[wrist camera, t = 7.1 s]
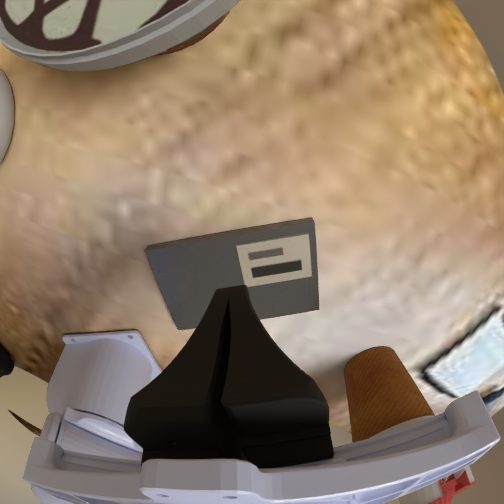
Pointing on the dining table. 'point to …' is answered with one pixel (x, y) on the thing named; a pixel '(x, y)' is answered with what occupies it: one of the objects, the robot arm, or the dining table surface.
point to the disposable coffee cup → (382, 394)
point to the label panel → (240, 270)
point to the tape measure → (5, 363)
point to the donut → (5, 114)
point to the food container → (105, 29)
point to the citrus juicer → (441, 489)
